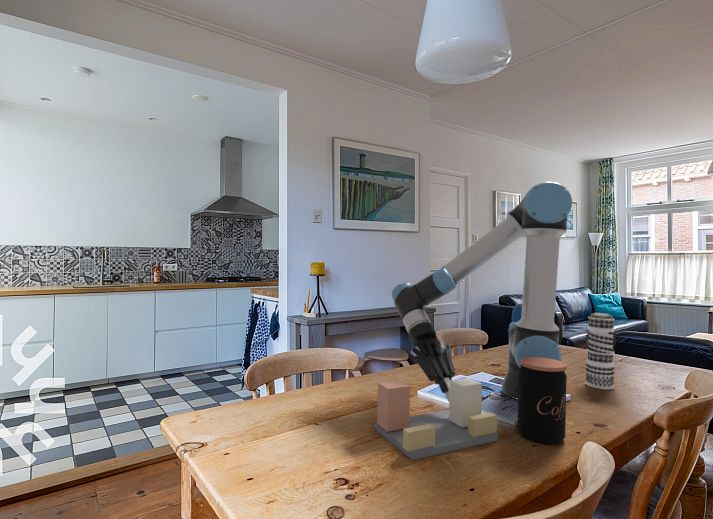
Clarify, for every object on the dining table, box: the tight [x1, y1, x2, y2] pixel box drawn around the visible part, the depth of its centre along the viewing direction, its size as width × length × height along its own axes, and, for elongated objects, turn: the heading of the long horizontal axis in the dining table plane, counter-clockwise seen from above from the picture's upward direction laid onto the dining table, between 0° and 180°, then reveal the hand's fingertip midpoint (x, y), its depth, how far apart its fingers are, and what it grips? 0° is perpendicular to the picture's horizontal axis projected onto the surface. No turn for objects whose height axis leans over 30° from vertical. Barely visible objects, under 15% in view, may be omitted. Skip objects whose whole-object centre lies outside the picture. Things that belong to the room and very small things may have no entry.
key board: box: [373, 409, 499, 461], centre depth 97 cm, size 17×25×6 cm
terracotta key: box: [376, 379, 411, 432], centre depth 97 cm, size 5×6×10 cm
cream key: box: [448, 377, 483, 428], centre depth 100 cm, size 5×6×10 cm
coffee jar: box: [516, 357, 568, 445], centre depth 97 cm, size 11×11×18 cm
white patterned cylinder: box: [585, 312, 617, 390], centre depth 139 cm, size 9×9×25 cm
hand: (455, 403), depth 104 cm, fingers closed
